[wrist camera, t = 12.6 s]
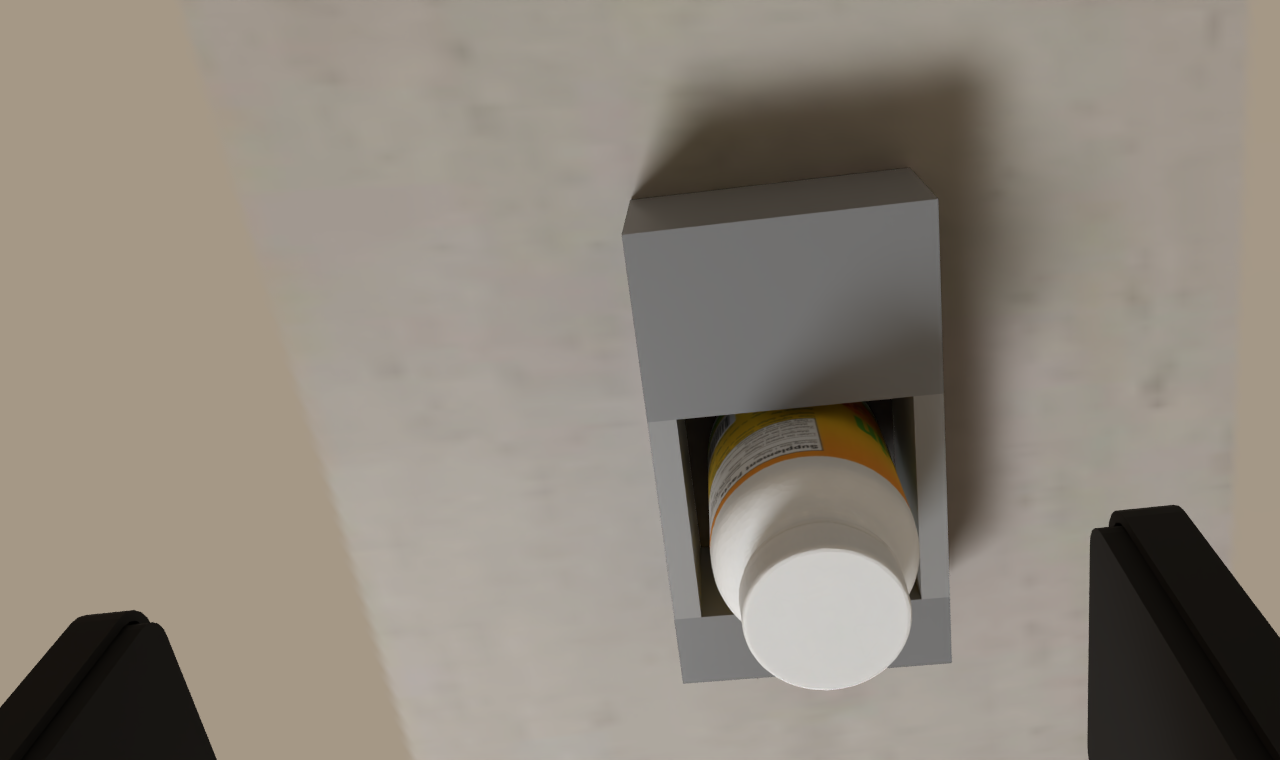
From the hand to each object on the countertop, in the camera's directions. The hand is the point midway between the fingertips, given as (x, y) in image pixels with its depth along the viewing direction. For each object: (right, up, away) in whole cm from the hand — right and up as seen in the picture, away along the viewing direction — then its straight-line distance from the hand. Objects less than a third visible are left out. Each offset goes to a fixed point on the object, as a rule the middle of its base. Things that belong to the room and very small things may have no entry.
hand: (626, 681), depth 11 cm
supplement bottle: (+5, +1, +24) cm, 24 cm away
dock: (+5, +2, +23) cm, 24 cm away
